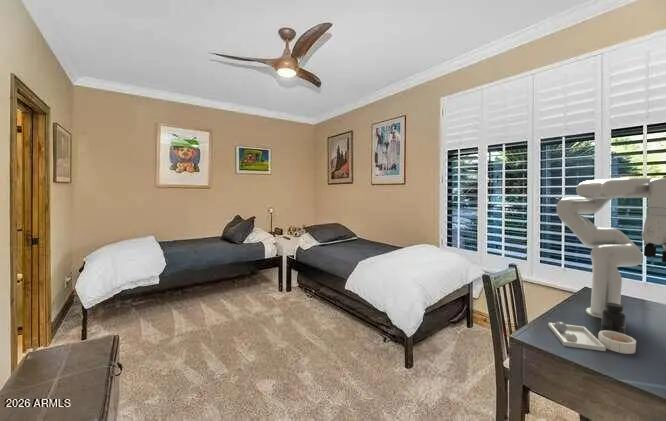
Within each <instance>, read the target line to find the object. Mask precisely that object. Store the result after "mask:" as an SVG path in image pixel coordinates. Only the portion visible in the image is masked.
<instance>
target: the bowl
mask: <svg viewBox="0 0 666 421" xmlns="http://www.w3.org/2000/svg"><path fill="white" fill-rule="evenodd" d="M612 336H620V337H622V338H624V339H625V340H626V343H625V342H618V341H615V340H611V337H612ZM597 337H598V338H597V339H598V340H599V341H600V342H601V343H602V344H603V345H604V346H605V347H606V350H610V351H613V352H614V353H615V352H616V353H620V354H626V355H627V354H629V355H630V354H635V353H636V350H637V349H636V348H637V340H636V339H635V338H633V337H632V336H630V335H627V334H626V333H625V334H623V333H619V332H615V331H607V330H604V331H601V330H600V331H599V332H598V334H597Z"/></svg>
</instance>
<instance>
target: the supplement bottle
mask: <svg viewBox="0 0 666 421" xmlns="http://www.w3.org/2000/svg"><path fill="white" fill-rule="evenodd" d="M600 322H601V323H600V324H601V325H600V331H604V330H607V331H615V332H619V333H623V334H625V335H626V323H627V316H626V313H624V306H623V305H622V304H621V303H620V304H616V303H610V302H608V303H606V309H604V310H603V311H602V319H600Z"/></svg>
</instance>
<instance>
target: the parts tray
mask: <svg viewBox="0 0 666 421" xmlns="http://www.w3.org/2000/svg"><path fill="white" fill-rule="evenodd" d="M555 323H556V322H548V327H549V329H550V330H551V331H552V332H553V333H554V335H555V337H557V339H558V340H559V341H560V343H561V344H562V345H563V346H565V347H571V348H576V349H577V348H579V349H580V348H581V349H587V350H594V351H601V352H607V351H606V350H607V348H606V347H605V346H604V345H603V344H602V343H601V342H600V341H599V340H598V338H597V337H596V336H595V335H593V333H592V332H591V331H590V330H588V328H586V327H585V326H582V325H581V326H580V325H573V324H565V325H566V326H567V331H566V332H560V331H558V330H557V329H556V328H555ZM568 333H572V334H574V335H576V337H577V342H569V341H567V340H566V338H565V336H566V334H568Z"/></svg>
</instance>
